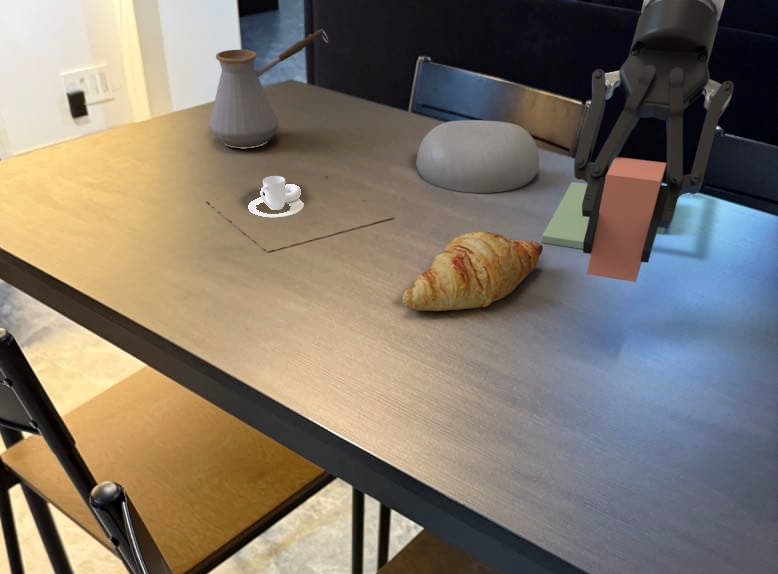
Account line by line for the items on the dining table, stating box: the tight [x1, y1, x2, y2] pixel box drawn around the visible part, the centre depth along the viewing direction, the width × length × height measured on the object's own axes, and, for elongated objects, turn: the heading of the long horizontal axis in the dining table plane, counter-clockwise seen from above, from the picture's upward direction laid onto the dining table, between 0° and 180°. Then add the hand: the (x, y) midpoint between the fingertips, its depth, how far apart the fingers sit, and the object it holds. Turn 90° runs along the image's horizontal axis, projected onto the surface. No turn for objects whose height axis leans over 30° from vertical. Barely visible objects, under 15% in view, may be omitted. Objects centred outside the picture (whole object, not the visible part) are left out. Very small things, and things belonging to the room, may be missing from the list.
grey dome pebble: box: [415, 119, 540, 194], centre depth 116 cm, size 19×7×16 cm
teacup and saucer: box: [248, 175, 304, 218], centre depth 108 cm, size 9×8×4 cm
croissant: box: [402, 231, 543, 312], centre depth 90 cm, size 21×10×8 cm, turn 127°
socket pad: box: [541, 181, 667, 250], centre depth 104 cm, size 20×20×4 cm
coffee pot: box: [208, 28, 330, 147], centre depth 125 cm, size 21×12×15 cm, turn 115°
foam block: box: [586, 156, 667, 283], centre depth 77 cm, size 5×5×10 cm
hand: (616, 252), depth 75 cm, fingers closed on foam block, 5 cm apart
